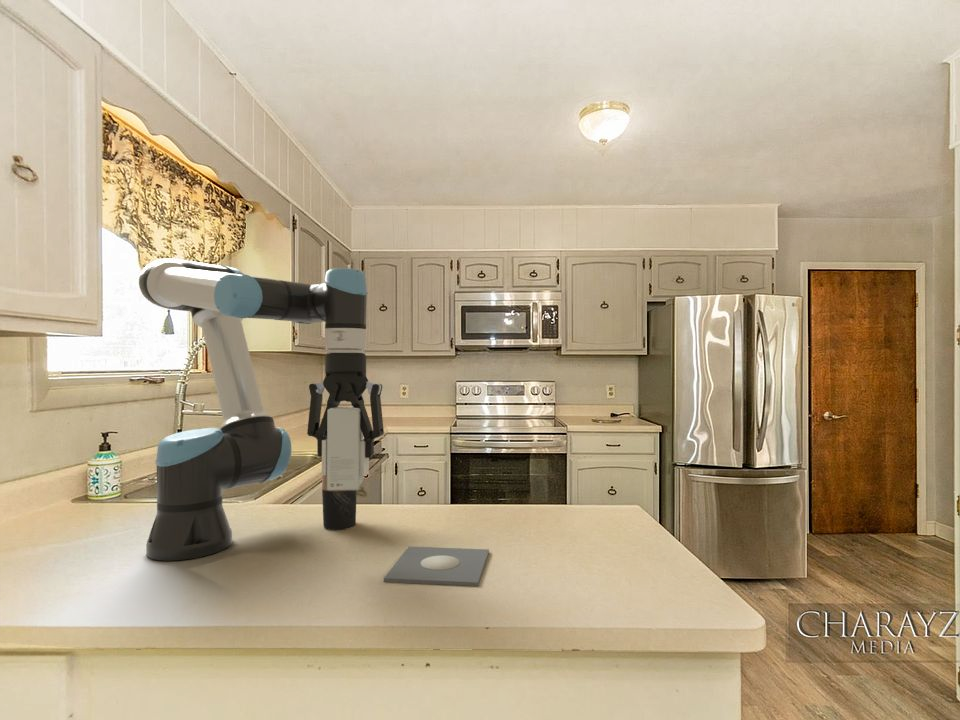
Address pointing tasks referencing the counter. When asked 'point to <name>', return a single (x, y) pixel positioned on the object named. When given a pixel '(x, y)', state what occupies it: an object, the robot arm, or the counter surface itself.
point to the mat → (439, 566)
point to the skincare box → (343, 448)
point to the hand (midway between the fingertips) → (345, 474)
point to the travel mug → (338, 507)
